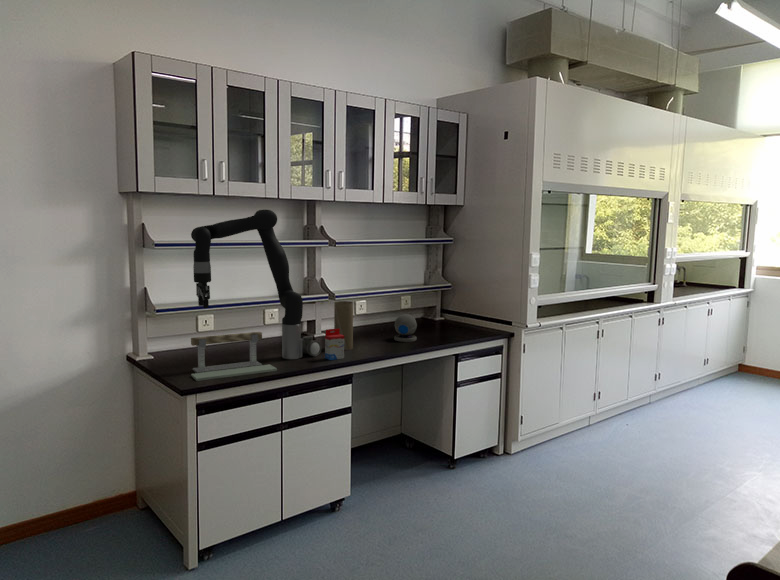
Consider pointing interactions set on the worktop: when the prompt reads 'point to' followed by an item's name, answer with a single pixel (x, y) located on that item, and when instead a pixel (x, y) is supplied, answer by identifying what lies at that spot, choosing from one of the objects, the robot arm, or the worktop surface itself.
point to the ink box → (334, 345)
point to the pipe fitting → (310, 346)
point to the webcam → (405, 328)
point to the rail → (225, 338)
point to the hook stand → (202, 367)
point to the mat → (233, 372)
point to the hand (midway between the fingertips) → (203, 307)
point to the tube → (344, 321)
